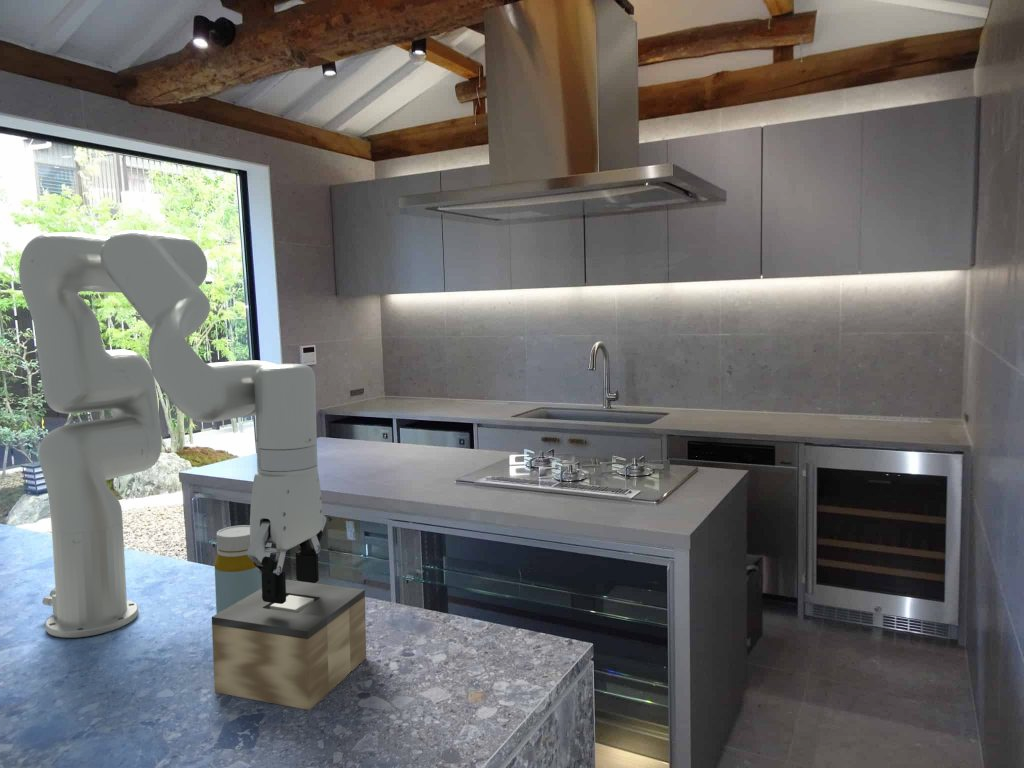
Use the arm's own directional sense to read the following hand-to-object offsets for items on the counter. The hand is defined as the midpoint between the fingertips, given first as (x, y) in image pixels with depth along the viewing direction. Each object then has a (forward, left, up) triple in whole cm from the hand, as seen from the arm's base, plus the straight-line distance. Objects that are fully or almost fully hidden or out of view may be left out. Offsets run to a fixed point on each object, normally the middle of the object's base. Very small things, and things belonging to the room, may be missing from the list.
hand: (291, 590), depth 96 cm
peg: (0, 0, -12) cm, 12 cm away
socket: (0, 0, -12) cm, 12 cm away
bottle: (-17, +11, -12) cm, 23 cm away
